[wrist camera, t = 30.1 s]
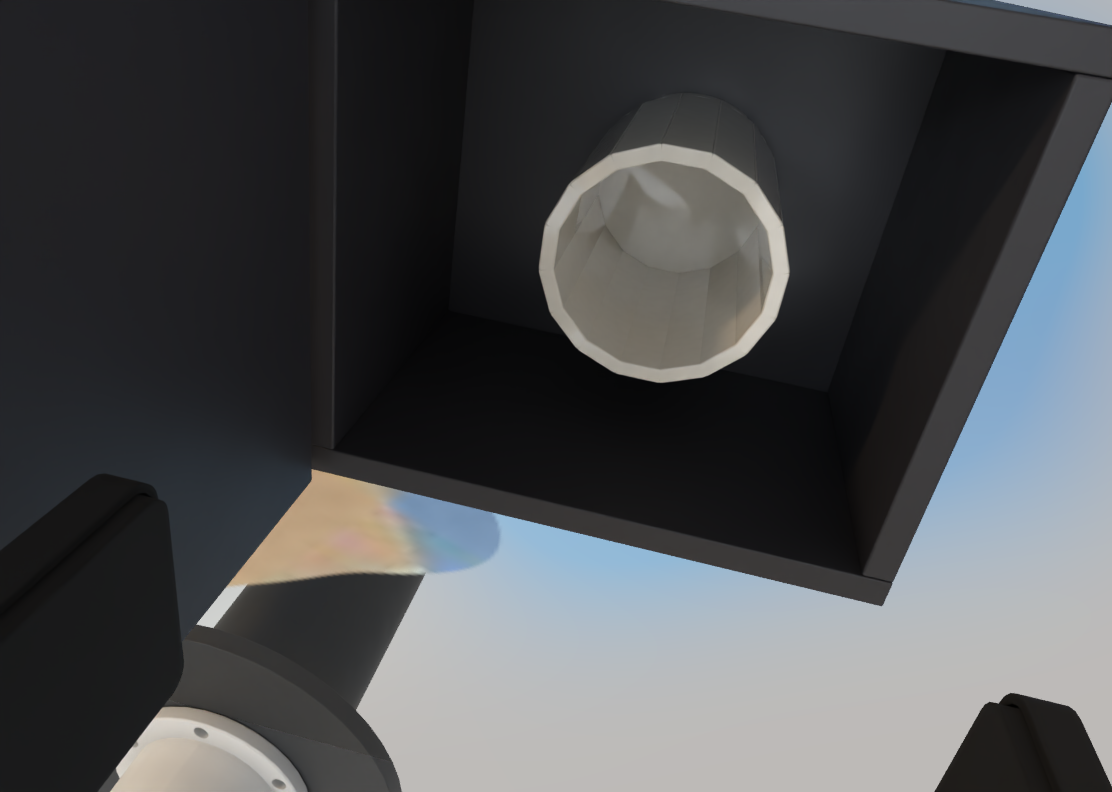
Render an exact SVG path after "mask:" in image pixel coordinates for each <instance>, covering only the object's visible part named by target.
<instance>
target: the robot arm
mask: <svg viewBox="0 0 1112 792" xmlns="http://www.w3.org/2000/svg"><path fill="white" fill-rule="evenodd" d="M183 666H184V659H183V650H182V640H181V630H180V620H179V610H178V600H177V591H176V581H175V571H174V561H173V551H172V541H171V531H170V522H169V512H168V507H167V504H166V503H165V502H164V501H162V500H160V499H158V495H157V491H156V490H155V488H154V487H153V486H152V485H150V484H147V483H143V482H139V481H135V480H131V479H127V478H122V477H118V476H114V475H110V474H106V473H103V474H97V475H96V476H94V477H92V478H90V479H89V480H88V481H86V482H85V483H84V484H83V485H81V486H80V487H79V488H78V489H76V490H75V491H74V492H73V493H71V494H70V495H69V496H68V497H66V498H65V499H64V500H63V501H61V502H60V503H59V504H58V505H56V506H55V507H54V508H53V509H51V510H50V511H49V512H48V513H46V514H45V515H44V516H43V517H41V518H40V519H39V520H38V521H36V522H35V523H34V524H33V525H31V526H30V527H29V528H28V529H26V530H25V531H24V532H23V533H21V534H20V535H19V536H18V537H16V538H15V539H14V540H13V541H11V542H10V543H9V544H8V545H6V546H5V547H4V548H3V549H1V550H0V792H98V791H99V789H100V788H101V787H102V785H103V784H104V783H105V782H106V780H107V779H108V778H109V776H110V775H111V774H112V772H113V771H114V770H115V769H116V771H117V773H118V776H119V778H120V779H119V780H118V782H117V783H116V784H115V786H114V787H113V788H112V790H111V791H110V792H308V791H307V788H306V785H305V783H304V782H303V780H302V778H301V776H300V774H299V772H298V771H297V770H296V768H295V767H294V766H293V764H292V763H291V762H290V760H289V759H288V758H287V757H286V756H285V755H284V754H283V753H282V752H281V751H280V750H279V749H278V748H277V747H276V746H274V745H273V744H272V743H270V742H269V741H268V740H266V739H265V738H264V737H262V736H261V735H260V734H258V733H256V732H255V731H253V730H251V729H250V728H248V727H246V726H245V725H243V724H241V723H239V722H236V721H234V720H232V719H230V718H227V717H225V716H222V715H219V714H216V713H213V712H209V711H206V710H201V709H196V708H190V707H163V706H164V705H165V703H166V702H167V701H168V699H169V698H170V697H171V696H172V694H173V693H174V691H175V689H176V688H177V685H178V683H179V681H180V678H181V676H182V672H183ZM162 707H163V708H162ZM935 792H1112V786H1111V784H1110V782H1109V780H1108V778H1107V775H1106V773H1105V771H1104V769H1103V767H1102V765H1101V762H1100V760H1099V758H1098V756H1097V754H1096V751H1095V749H1094V747H1093V745H1092V743H1091V741H1090V739H1089V736H1088V734H1087V732H1086V730H1085V728H1084V725H1083V723H1082V721H1081V719H1080V718H1079V716H1078V715H1077V713H1076V711H1074V710H1073V709H1072V708H1070V707H1069V706H1065V705H1061V704H1057V703H1053V702H1049V701H1045V700H1040V699H1036V698H1032V697H1028V696H1024V695H1020V694H1014V693H1010V694H1008V695H1006V696H1005V697H1003V699H1002V700H1001V701H1000V703H999V704H998V703H993V702H989V703H987V704H985V705H984V707H983V708H982V709H981V711H980V713H979V715H978V717H977V718H976V720H975V721H974V723H973V725H972V727H971V728H970V730H969V732H968V734H967V736H966V737H965V739H964V741H963V743H962V744H961V746H960V748H959V750H958V751H957V753H956V755H955V757H954V759H953V760H952V762H951V764H950V766H949V767H948V769H947V771H946V772H945V774H944V776H943V778H942V780H941V781H940V783H939V785H938V787H937V788H936V790H935Z"/></svg>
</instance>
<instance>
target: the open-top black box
mask: <svg viewBox="0 0 1112 792" xmlns="http://www.w3.org/2000/svg"><path fill="white" fill-rule="evenodd" d="M308 85H309V214H310V344H311V469H314V470H318V471H323V472H327V473H331V474H335V475H339V476H343V477H347V478H352V479H356V480H360V481H364V482H368V483H372V484H377V485H381V486H385V487H389V488H393V489H397V490H401V491H406V492H410V493H414V494H418V495H422V496H426V497H430V498H435V499H439V500H443V501H447V502H451V503H455V504H460V505H464V506H468V507H472V508H476V509H480V510H484V511H489V512H493V513H497V514H501V515H505V516H509V517H514V518H518V519H522V520H526V521H530V522H534V523H538V524H543V525H547V526H551V527H555V528H559V529H563V530H568V531H572V532H576V533H580V534H584V535H588V536H592V537H597V538H601V539H605V540H609V541H613V542H618V543H621V544H625V545H630V546H634V547H638V548H642V549H646V550H651V551H655V552H659V553H663V554H667V555H671V556H675V557H680V558H684V559H688V560H692V561H696V562H700V563H705V564H709V565H713V566H717V567H721V568H725V569H729V570H733V571H738V572H742V573H746V574H750V575H754V576H758V577H762V578H767V579H771V580H775V581H779V582H783V583H787V584H792V585H796V586H800V587H804V588H808V589H813V590H816V591H821V592H825V593H829V594H833V595H837V596H841V597H845V598H850V599H854V600H858V601H862V602H866V603H870V604H874V605H879V606H882V605H883V604H884V601H885V599H886V596H887V595H888V593H889V590H890V588H891V586H892V582H893V580H894V579H895V576H896V574H897V572H898V569H899V567H900V565H901V563H902V561H903V559H904V557H905V554H906V552H907V550H908V548H909V545H910V543H911V541H912V539H913V537H914V534H915V533H916V530H917V528H918V526H919V524H920V522H921V519H922V517H923V515H924V513H925V510H926V508H927V506H928V504H929V502H930V500H931V497H932V495H933V493H934V491H935V489H936V486H937V484H938V482H939V480H940V478H941V475H942V473H943V471H944V469H945V467H946V464H947V462H948V460H949V458H950V456H951V454H952V451H953V449H954V447H955V445H956V442H957V440H958V438H959V436H960V434H961V432H962V429H963V427H964V425H965V423H966V421H967V418H968V416H969V414H970V412H971V410H972V407H973V405H974V403H975V401H976V398H977V396H978V394H979V392H980V390H981V387H982V386H983V383H984V381H985V379H986V376H987V375H988V372H989V370H990V368H991V365H992V364H993V361H994V359H995V357H996V355H997V352H998V350H999V348H1000V346H1001V344H1002V342H1003V339H1004V337H1005V335H1006V333H1007V331H1008V328H1009V326H1010V324H1011V322H1012V320H1013V318H1014V315H1015V313H1016V311H1017V309H1018V306H1019V304H1020V302H1021V300H1022V298H1023V295H1024V293H1025V291H1026V289H1027V287H1028V284H1029V282H1030V280H1031V278H1032V276H1033V273H1034V271H1035V269H1036V267H1037V265H1038V263H1039V260H1040V258H1041V256H1042V254H1043V252H1044V249H1045V247H1046V245H1047V243H1048V241H1049V239H1050V236H1051V234H1052V232H1053V230H1054V227H1055V225H1056V223H1057V221H1058V219H1059V217H1060V214H1061V212H1062V210H1063V208H1064V206H1065V203H1066V201H1067V199H1068V197H1069V195H1070V192H1071V190H1072V188H1073V186H1074V184H1075V182H1076V179H1077V177H1078V175H1079V173H1080V171H1081V168H1082V166H1083V164H1084V162H1085V160H1086V157H1087V155H1088V153H1089V151H1090V149H1091V146H1092V144H1093V142H1094V139H1095V138H1096V135H1097V133H1098V131H1099V129H1100V127H1101V124H1102V122H1103V120H1104V118H1105V116H1106V113H1107V111H1108V109H1109V107H1110V105H1111V102H1112V25H1107V24H1103V23H1098V22H1093V21H1088V20H1084V19H1079V18H1074V17H1070V16H1065V15H1061V14H1056V13H1051V12H1046V11H1041V10H1037V9H1032V8H1028V7H1023V6H1018V5H1014V4H1009V3H1004V2H1000V1H995V0H308ZM675 93H696V94H704V95H708V96H711V97H715V98H718V99H720V100H723V101H725V102H727V103H729V104H731V105H732V106H734V107H736V108H738V109H739V110H740V111H741V112H743V113H744V114H745V115H746V116H748V117H749V118H750V119H751V120H752V122H753V123H754V124H755V125H756V126H757V127H758V129H759V130H760V131H761V133H762V134H763V136H764V137H765V139H766V141H767V143H768V145H769V147H770V150H771V152H772V153H773V156H774V158H775V165H776V172H777V180H778V187H779V194H780V201H781V208H782V215H783V223H784V230H785V237H786V245H787V252H788V260H789V267H790V273H789V274H790V276H789V279H788V283H787V286H786V289H785V293H784V296H783V299H782V303H781V306H780V309H779V313H778V316H777V318H776V320H775V322H774V323H773V324H772V325H771V326H770V328H769V329H768V330H767V331H766V332H765V333H764V335H763V336H762V337H761V338H760V339H759V341H758V342H757V343H756V344H755V345H754V347H753V348H752V349H751V350H750V351H749V353H748V354H746V355H745V356H744V357H742V358H740V359H738V360H736V361H734V362H732V363H731V364H729V365H727V366H725V367H723V368H721V369H719V370H718V371H716V372H714V373H712V374H710V375H708V376H705V377H702V378H695V379H687V380H680V381H672V382H665V383H660V382H659V383H657V382H652V381H647V380H643V379H638V378H634V377H629V376H625V375H620V374H616V372H615V373H614V372H612V371H610V370H609V369H607V368H606V367H604V366H603V365H601V364H599V363H598V362H596V361H595V360H593V359H592V358H590V357H588V356H587V355H585V354H584V353H582V352H581V351H579V350H578V348H576V347H575V346H574V345H573V343H572V342H571V341H570V339H569V338H568V337H567V335H566V334H565V333H564V331H563V330H562V329H561V327H560V326H559V325H558V323H557V322H556V321H555V319H554V318H553V317H552V315H551V313H550V312H549V308H548V304H547V301H546V297H545V293H544V290H543V286H542V282H541V278H540V275H539V268H538V266H539V259H540V252H541V245H542V237H543V230H544V225H545V222H546V220H547V219H548V217H549V215H550V214H551V212H552V210H553V209H554V207H555V205H556V204H557V202H558V200H559V199H560V197H561V195H562V194H563V192H564V191H565V189H566V187H567V186H568V184H569V183H570V181H571V180H572V179H573V177H574V176H575V175H576V173H577V172H578V171H579V169H580V168H581V167H582V165H583V164H584V163H585V161H586V160H587V159H588V157H589V156H590V154H591V153H592V152H593V150H594V149H595V148H596V146H597V145H598V144H599V142H600V141H601V140H602V138H603V137H604V136H605V134H606V133H607V132H608V130H609V129H610V128H611V127H612V126H613V124H615V123H616V122H617V121H619V120H620V119H621V118H622V117H623V116H624V115H626V114H627V113H628V112H629V111H631V110H632V109H634V108H635V107H637V106H639V105H640V104H642V103H644V102H647V101H649V100H651V99H654V98H657V97H660V96H663V95H669V94H675Z"/></svg>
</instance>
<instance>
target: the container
mask: <svg viewBox="0 0 1112 792" xmlns="http://www.w3.org/2000/svg"><path fill="white" fill-rule="evenodd" d="M538 268H539V275H540V278H541V282H542V286H543V290H544V293H545V297H546V301H547V304H548V308H549V312H550V313H551V315H552V317H553V318H554V319H555V321H556V322H557V323H558V325H559V326H560V327H561V329H562V330H563V331H564V333H565V334H566V335H567V337H568V338H569V339H570V341H571V342H572V343H573V345H574V346H575V347H576V348H578V350H579V351H581V352H582V353H584V354H585V355H587V356H588V357H590V358H592V359H593V360H595V361H596V362H598V363H599V364H601V365H603V366H604V367H606V368H607V369H609V370H610V371H612V372H614V373H615V372H616V374H620V375H625V376H629V377H634V378H638V379H643V380H647V381H652V382H657V383H659V382H660V383H665V382H672V381H680V380H687V379H695V378H702V377H705V376H708V375H710V374H712V373H714V372H716V371H718V370H719V369H721V368H723V367H725V366H727V365H729V364H731V363H732V362H734V361H736V360H738V359H740V358H742V357H744V356H745V355H746V354H748V353H749V351H750V350H751V349H752V348H753V347H754V345H755V344H756V343H757V342H758V341H759V339H760V338H761V337H762V336H763V335H764V333H765V332H766V331H767V330H768V329H769V328H770V326H771V325H772V324H773V323H774V322H775V320H776V318H777V316H778V313H779V309H780V306H781V303H782V299H783V296H784V293H785V289H786V286H787V283H788V279H789V276H790V274H789V273H790V267H789V260H788V252H787V245H786V237H785V230H784V223H783V215H782V208H781V201H780V194H779V187H778V180H777V172H776V165H775V158H774V156H773V153H772V152H771V150H770V147H769V145H768V143H767V141H766V139H765V137H764V136H763V134H762V133H761V131H760V130H759V129H758V127H757V126H756V125H755V124H754V123H753V122H752V120H751V119H750V118H749V117H748V116H746V115H745V114H744V113H743V112H741V111H740V110H739V109H738V108H736V107H734V106H732V105H731V104H729V103H727V102H725V101H723V100H720V99H718V98H715V97H711V96H708V95H704V94H696V93H675V94H669V95H663V96H660V97H657V98H654V99H651V100H649V101H647V102H644V103H642V104H640V105H639V106H637V107H635V108H634V109H632V110H631V111H629V112H628V113H627V114H626V115H624V116H623V117H622V118H621V119H620V120H619V121H617V122H616V123H615V124H613V126H612V127H611V128H610V129H609V130H608V132H607V133H606V134H605V136H604V137H603V138H602V140H601V141H600V142H599V144H598V145H597V146H596V148H595V149H594V150H593V152H592V153H591V154H590V156H589V157H588V159H587V160H586V161H585V163H584V164H583V165H582V167H581V168H580V169H579V171H578V172H577V173H576V175H575V176H574V177H573V179H572V180H571V181H570V183H569V184H568V186H567V187H566V189H565V191H564V192H563V194H562V195H561V197H560V199H559V200H558V202H557V204H556V205H555V207H554V209H553V210H552V212H551V214H550V215H549V217H548V219H547V220H546V222H545V225H544V230H543V237H542V245H541V252H540V259H539V266H538Z"/></svg>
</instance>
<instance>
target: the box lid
mask: <svg viewBox="0 0 1112 792" xmlns="http://www.w3.org/2000/svg"><path fill="white" fill-rule="evenodd" d="M103 473H106V474H110V475H114V476H118V477H122V478H127V479H131V480H135V481H139V482H143V483H147V484H150V485H152V486H153V487H154V488H155V490H156V491H157V495H158V499H160V500H162V501H164V502H165V503H166V504H167V507H168V512H169V522H170V531H171V541H172V551H173V561H174V571H175V581H176V591H177V600H178V610H179V620H180V630H181V640H182V641H183V640H184V639H185V637H186V636H187V635H188V634H189V632H190V631H191V630H192V629H193V628H194V626H195V625H196V624H197V622H198V621H199V620H200V619H201V617H202V616H203V615H204V614H205V612H206V611H207V610H208V609H209V608H210V606H211V605H212V604H213V603H214V601H215V600H216V599H217V598H218V596H219V595H220V594H221V593H222V591H223V590H224V589H225V588H226V586H227V585H228V584H229V583H230V581H231V580H232V579H233V578H234V576H235V575H236V574H237V573H238V571H239V570H240V569H241V568H242V566H243V565H244V564H245V563H246V562H247V560H248V559H249V558H250V557H251V555H252V554H253V553H254V552H255V550H256V549H257V548H258V547H259V545H260V544H261V543H262V542H263V540H264V539H265V538H266V537H267V535H268V534H269V533H270V532H271V530H272V529H273V528H274V527H275V525H276V524H277V523H278V522H279V520H280V519H281V518H282V517H283V515H284V514H285V513H286V512H287V510H288V509H289V508H290V507H291V505H292V504H293V503H294V502H295V500H296V499H297V498H298V497H299V495H300V494H301V493H302V492H303V491H304V489H305V488H306V487H307V486H308V484H309V483H310V482H311V480H312V474H311V344H310V214H309V85H308V0H0V550H1V549H3V548H4V547H5V546H6V545H8V544H9V543H10V542H11V541H13V540H14V539H15V538H16V537H18V536H19V535H20V534H21V533H23V532H24V531H25V530H26V529H28V528H29V527H30V526H31V525H33V524H34V523H35V522H36V521H38V520H39V519H40V518H41V517H43V516H44V515H45V514H46V513H48V512H49V511H50V510H51V509H53V508H54V507H55V506H56V505H58V504H59V503H60V502H61V501H63V500H64V499H65V498H66V497H68V496H69V495H70V494H71V493H73V492H74V491H75V490H76V489H78V488H79V487H80V486H81V485H83V484H84V483H85V482H86V481H88V480H89V479H90V478H92V477H94V476H96V475H97V474H103Z"/></svg>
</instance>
